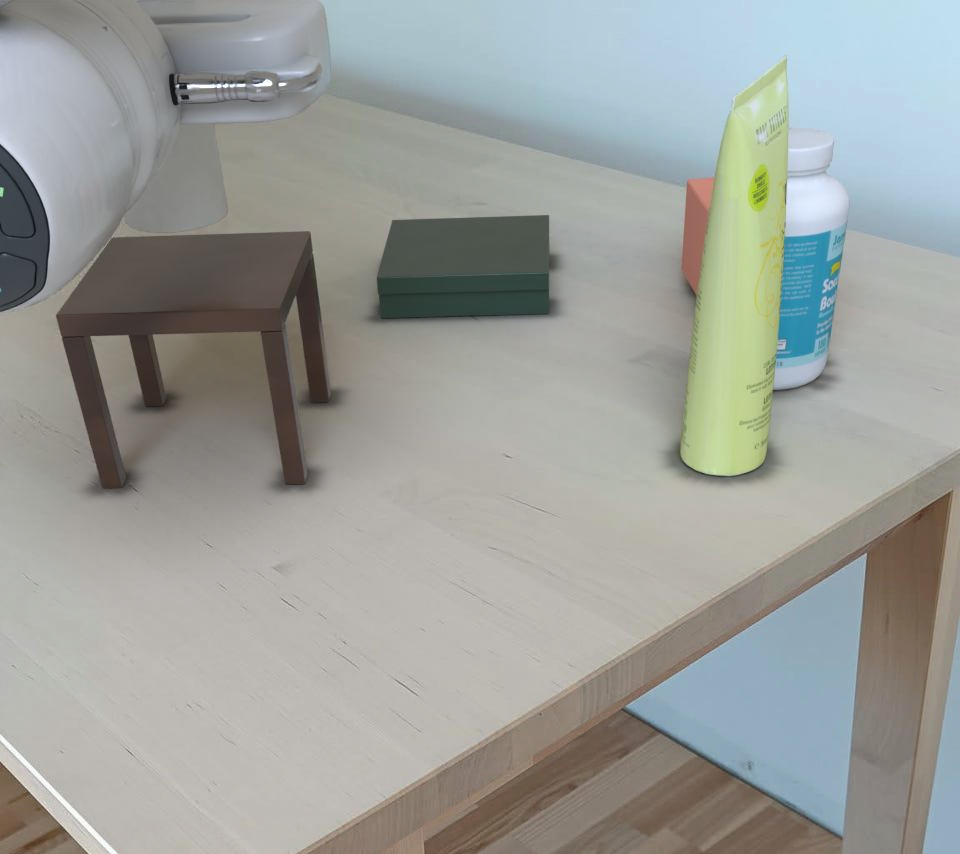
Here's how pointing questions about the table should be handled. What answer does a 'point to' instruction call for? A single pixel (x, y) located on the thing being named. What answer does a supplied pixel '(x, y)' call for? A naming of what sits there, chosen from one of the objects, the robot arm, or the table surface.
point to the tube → (740, 286)
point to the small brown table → (196, 322)
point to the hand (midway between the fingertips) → (144, 22)
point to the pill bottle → (809, 258)
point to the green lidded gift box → (465, 267)
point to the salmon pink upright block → (695, 227)
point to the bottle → (184, 185)
